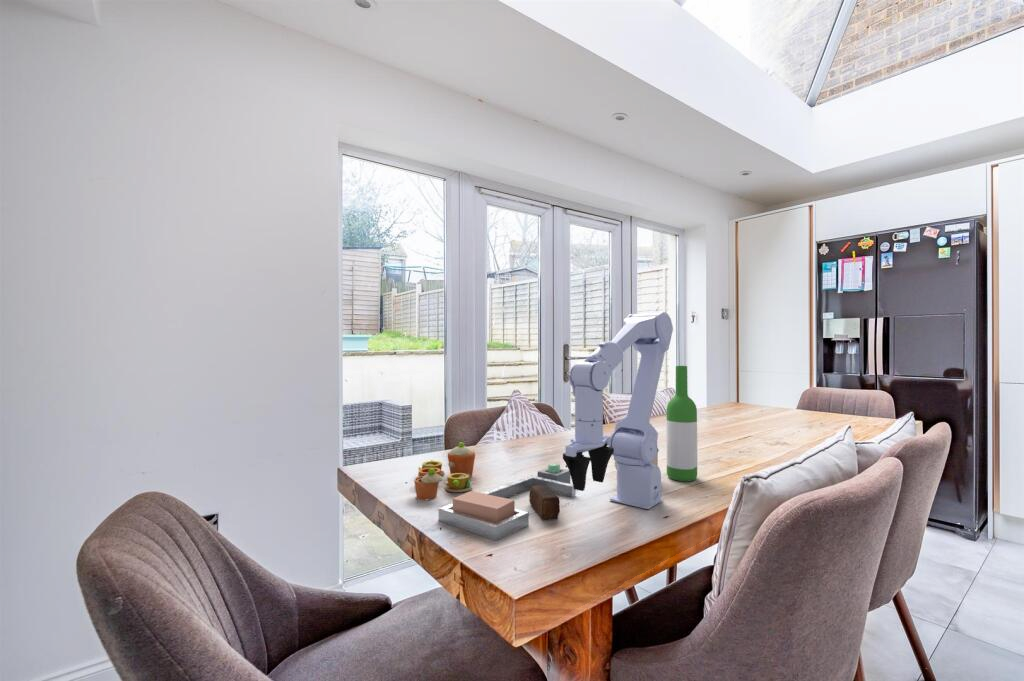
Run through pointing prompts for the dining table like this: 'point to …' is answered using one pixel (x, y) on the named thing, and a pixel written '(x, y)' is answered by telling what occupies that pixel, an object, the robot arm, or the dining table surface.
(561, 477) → the console
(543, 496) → the brick
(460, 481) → the toy tea set
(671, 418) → the wine bottle
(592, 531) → the dining table surface
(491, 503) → the twin block
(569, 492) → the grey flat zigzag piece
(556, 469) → the button
